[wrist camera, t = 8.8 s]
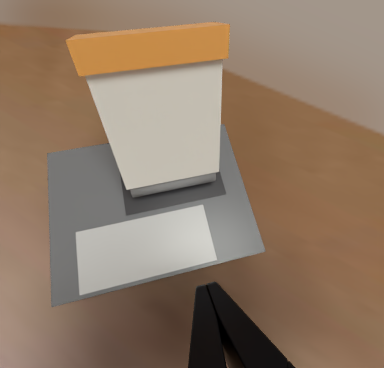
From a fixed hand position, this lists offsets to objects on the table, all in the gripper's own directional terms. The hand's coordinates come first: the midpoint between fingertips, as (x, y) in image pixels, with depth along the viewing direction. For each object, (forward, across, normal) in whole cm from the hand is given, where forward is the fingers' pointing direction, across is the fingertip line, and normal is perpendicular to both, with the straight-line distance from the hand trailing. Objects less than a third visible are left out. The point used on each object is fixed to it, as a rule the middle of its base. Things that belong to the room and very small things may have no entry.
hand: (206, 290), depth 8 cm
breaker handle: (+10, 0, -1) cm, 10 cm away
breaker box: (+13, +2, +4) cm, 13 cm away
